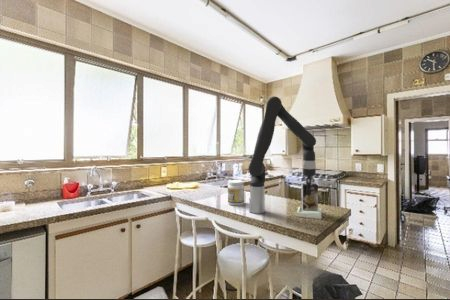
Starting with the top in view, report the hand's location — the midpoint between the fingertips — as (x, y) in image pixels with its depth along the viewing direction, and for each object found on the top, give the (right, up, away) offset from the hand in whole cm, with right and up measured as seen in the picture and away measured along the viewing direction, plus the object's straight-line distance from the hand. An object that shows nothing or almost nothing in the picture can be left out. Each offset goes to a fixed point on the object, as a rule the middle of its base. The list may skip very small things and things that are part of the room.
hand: (309, 194), depth 147 cm
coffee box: (0, -10, 0) cm, 10 cm away
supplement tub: (-44, -13, +29) cm, 54 cm away
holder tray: (0, -13, +1) cm, 13 cm away
